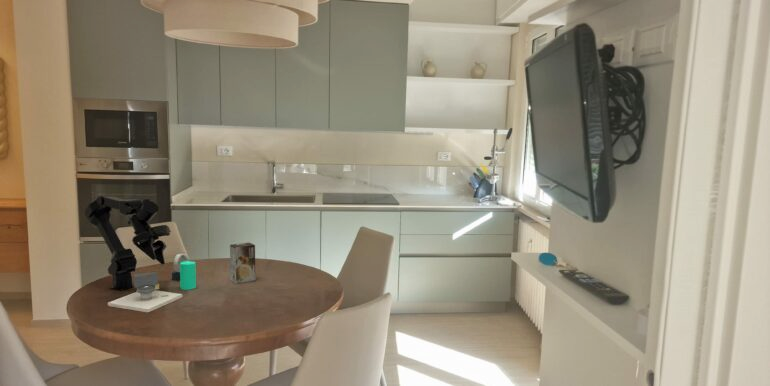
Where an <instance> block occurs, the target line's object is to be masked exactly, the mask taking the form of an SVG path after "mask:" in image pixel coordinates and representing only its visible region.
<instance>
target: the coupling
mask: <svg viewBox="0 0 770 386" xmlns="http://www.w3.org/2000/svg"><path fill="white" fill-rule="evenodd" d="M133 285H134V286H133V288H136V292H138V293H149V292H153V291H155V290H156V291H157V290H160V283H159V277H158V272H157V271H153V272H143V273H142V272H140V273H133Z"/></svg>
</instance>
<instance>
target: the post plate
mask: <svg viewBox="0 0 770 386" xmlns="http://www.w3.org/2000/svg"><path fill="white" fill-rule="evenodd" d="M181 298H183V294H182V293H177V292H170V291H162V290H157V289H156V290H155V291H153V292H149V293H138V292H137V291H136V292H132V293H129V294H128V295H125V296H121V297H120V298H117V299H114V300H112V301H108V302H107V306H108V307H113V308H117V309H125V310H131V311H136V312H143V313H150V312H152V311H154V310H157V309H158V308H159V309H160V308H161V307H163V306H165V305H169V304H171V303H172V302H174V301H177V300H179V299H181Z"/></svg>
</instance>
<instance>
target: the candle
mask: <svg viewBox="0 0 770 386" xmlns="http://www.w3.org/2000/svg"><path fill="white" fill-rule="evenodd" d="M196 265H197V264H196V262H195V261H190V260H189V261H185V262H181V263H180V262H179V267H180V280H179V281H180V283H179V285H180V287H179V288H180V289H181V290H194V289H195V288H196V287H197V276H196V275H197V274H196V273H197V269H196V268H197V266H196Z"/></svg>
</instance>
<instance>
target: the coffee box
mask: <svg viewBox="0 0 770 386" xmlns="http://www.w3.org/2000/svg"><path fill="white" fill-rule="evenodd" d="M229 253H230V254H229V256H230V257H229V258H230V259H229V260H230V263H229V264H230V265H229V266H230V267H229V268H230V269H229V270H230V281H231V282H232V283H234V284H235V285H237V284H241V283H248V282H253V281H256V280H257V278H256V276H257V275H256V274H257V273H256V244H254V243H252V242H241V243H233V244H230V245H229Z"/></svg>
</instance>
